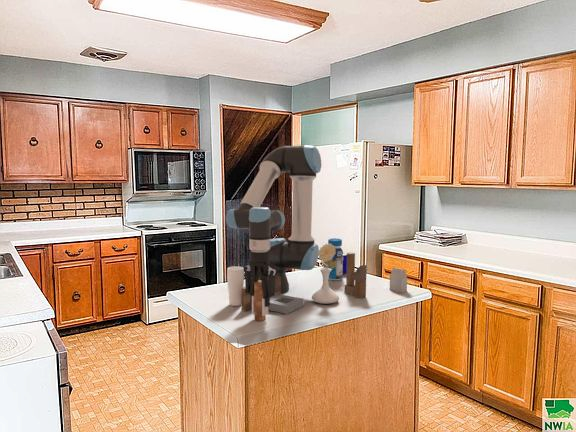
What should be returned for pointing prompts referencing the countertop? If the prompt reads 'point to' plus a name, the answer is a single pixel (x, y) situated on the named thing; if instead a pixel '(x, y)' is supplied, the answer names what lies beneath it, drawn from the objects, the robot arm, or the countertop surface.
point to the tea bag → (398, 280)
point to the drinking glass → (235, 284)
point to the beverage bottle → (336, 260)
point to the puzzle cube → (343, 264)
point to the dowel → (258, 301)
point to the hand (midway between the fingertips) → (260, 313)
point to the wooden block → (355, 278)
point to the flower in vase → (326, 276)
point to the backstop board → (246, 296)
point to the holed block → (284, 303)
